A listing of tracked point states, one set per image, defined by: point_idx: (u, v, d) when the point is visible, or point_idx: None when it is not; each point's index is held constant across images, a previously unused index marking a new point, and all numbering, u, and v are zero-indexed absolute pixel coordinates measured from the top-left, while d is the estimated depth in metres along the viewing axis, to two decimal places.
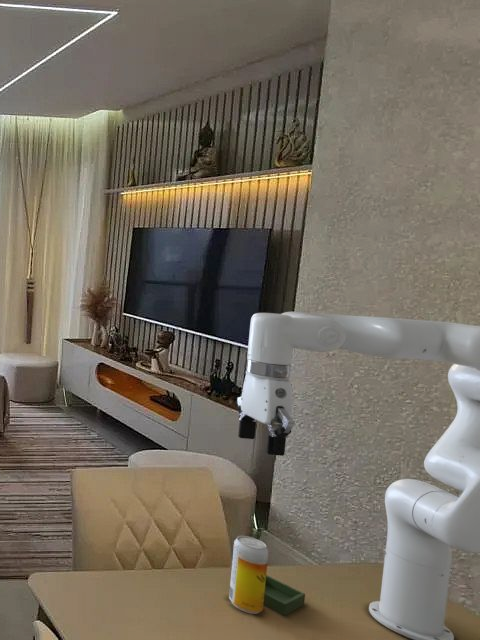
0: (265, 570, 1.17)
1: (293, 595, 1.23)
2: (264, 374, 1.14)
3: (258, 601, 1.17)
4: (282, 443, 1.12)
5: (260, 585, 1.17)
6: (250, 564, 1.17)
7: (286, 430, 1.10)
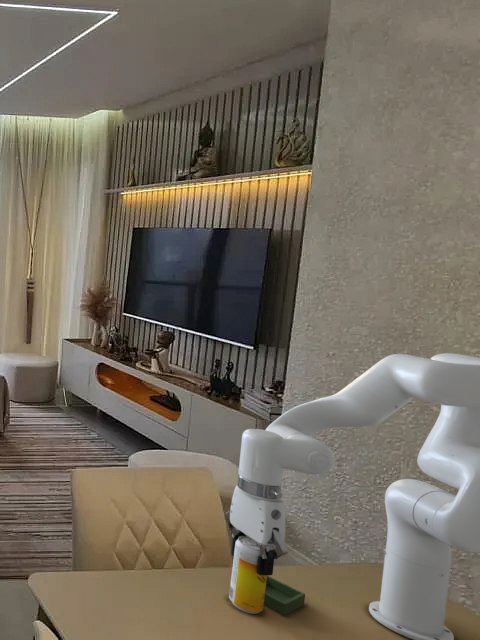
0: None
1: (293, 595, 1.23)
2: (259, 495, 1.15)
3: (258, 602, 1.17)
4: (272, 564, 1.14)
5: (261, 586, 1.16)
6: (251, 565, 1.17)
7: (278, 555, 1.12)
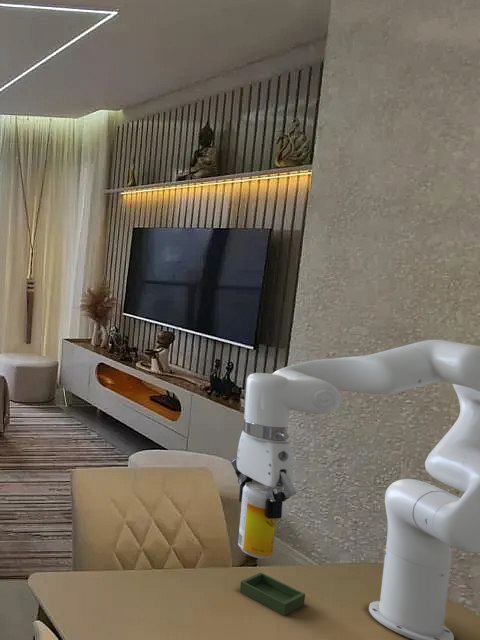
0: None
1: (293, 595, 1.23)
2: (266, 437, 1.14)
3: (267, 546, 1.16)
4: (280, 507, 1.14)
5: (270, 530, 1.15)
6: (259, 509, 1.16)
7: (286, 497, 1.11)
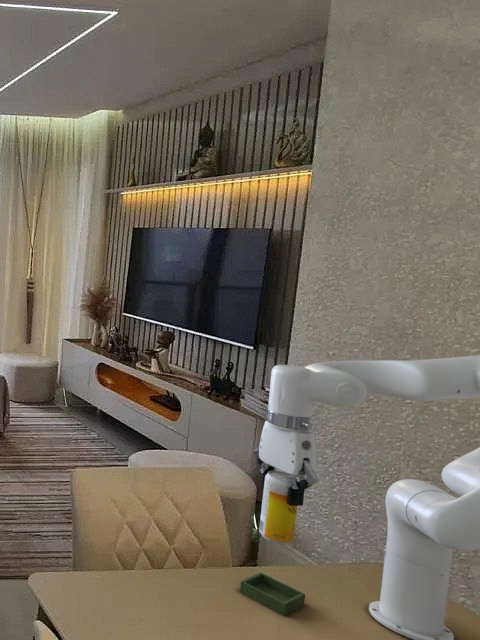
0: None
1: (293, 595, 1.23)
2: (290, 427, 1.17)
3: (289, 533, 1.19)
4: (302, 494, 1.17)
5: (291, 517, 1.19)
6: (282, 496, 1.19)
7: (309, 484, 1.15)
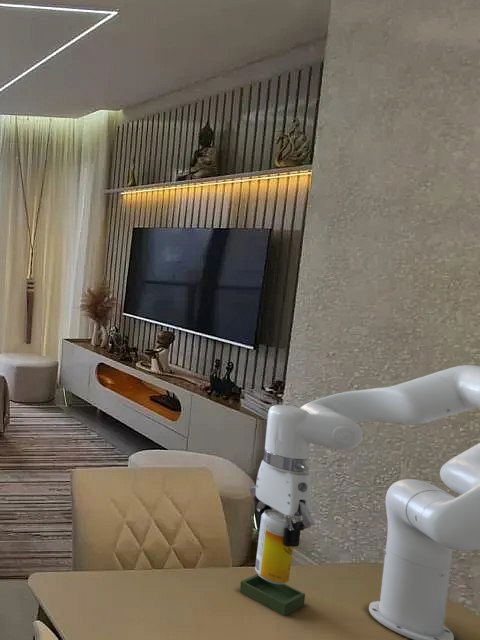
0: None
1: (293, 595, 1.23)
2: (286, 468, 1.18)
3: (284, 573, 1.20)
4: (298, 536, 1.18)
5: (287, 557, 1.20)
6: (277, 537, 1.20)
7: (304, 526, 1.16)
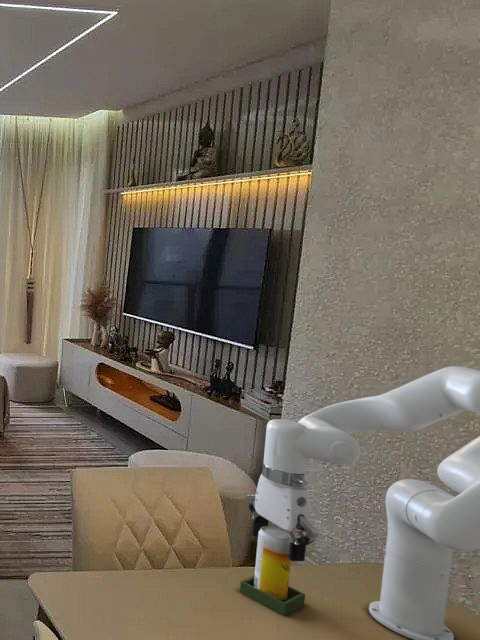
0: None
1: (293, 595, 1.23)
2: (285, 483, 1.18)
3: (283, 590, 1.20)
4: (304, 550, 1.16)
5: (285, 574, 1.20)
6: (275, 554, 1.20)
7: (310, 540, 1.14)
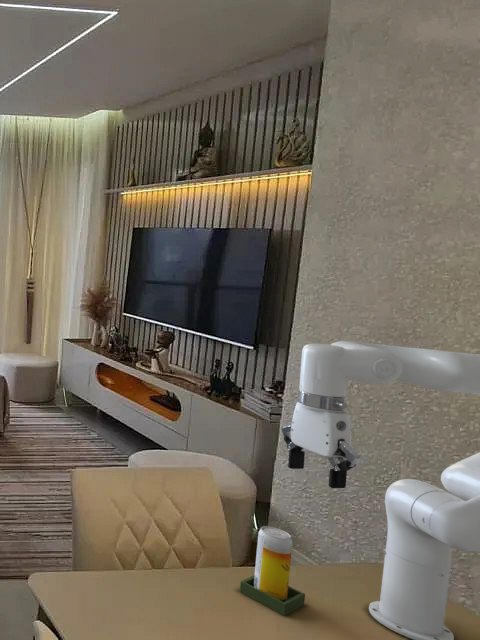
0: (289, 559, 1.20)
1: (293, 595, 1.23)
2: (323, 407, 1.13)
3: (283, 590, 1.20)
4: (345, 476, 1.11)
5: (285, 574, 1.20)
6: (275, 554, 1.20)
7: (352, 464, 1.09)
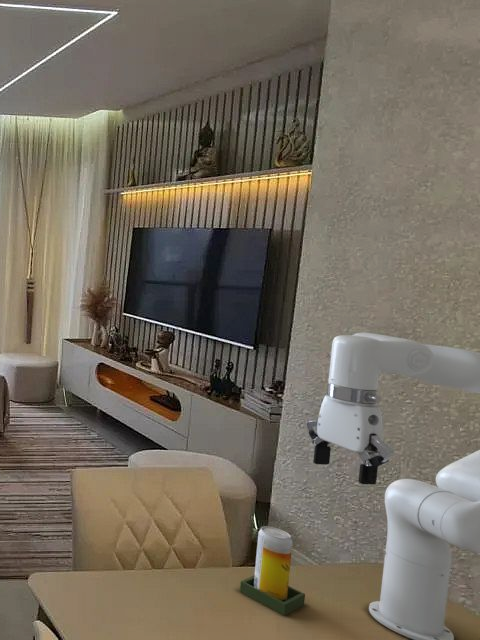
0: (289, 559, 1.20)
1: (293, 595, 1.23)
2: (354, 400, 1.09)
3: (283, 590, 1.20)
4: (376, 472, 1.08)
5: (285, 574, 1.20)
6: (275, 554, 1.20)
7: (384, 459, 1.05)
